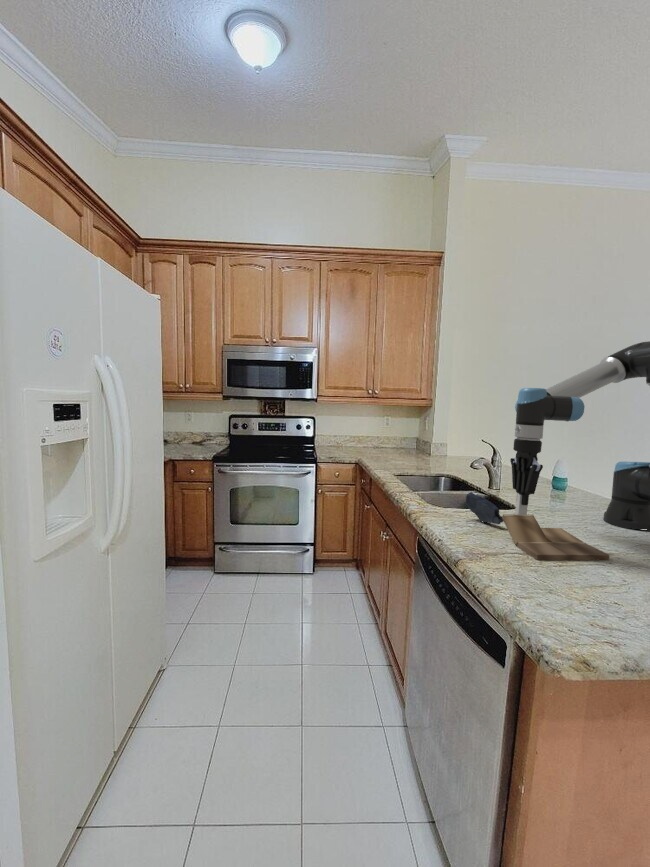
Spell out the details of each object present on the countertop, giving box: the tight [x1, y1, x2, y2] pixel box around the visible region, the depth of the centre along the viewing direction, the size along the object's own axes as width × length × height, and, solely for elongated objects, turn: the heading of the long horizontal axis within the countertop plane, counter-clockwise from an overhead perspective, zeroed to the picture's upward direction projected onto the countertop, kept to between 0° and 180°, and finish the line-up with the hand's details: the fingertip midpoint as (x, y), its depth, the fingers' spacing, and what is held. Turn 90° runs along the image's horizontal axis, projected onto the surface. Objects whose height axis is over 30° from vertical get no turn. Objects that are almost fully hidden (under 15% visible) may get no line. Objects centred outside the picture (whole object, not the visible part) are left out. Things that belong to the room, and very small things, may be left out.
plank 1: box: [501, 513, 548, 546], centre depth 117 cm, size 10×10×2 cm
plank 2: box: [540, 527, 584, 542], centre depth 119 cm, size 10×10×2 cm
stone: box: [465, 491, 504, 525], centre depth 133 cm, size 14×6×10 cm, turn 50°
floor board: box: [516, 541, 610, 561], centre depth 108 cm, size 21×9×2 cm, turn 95°
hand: (521, 514), depth 119 cm, fingers closed
